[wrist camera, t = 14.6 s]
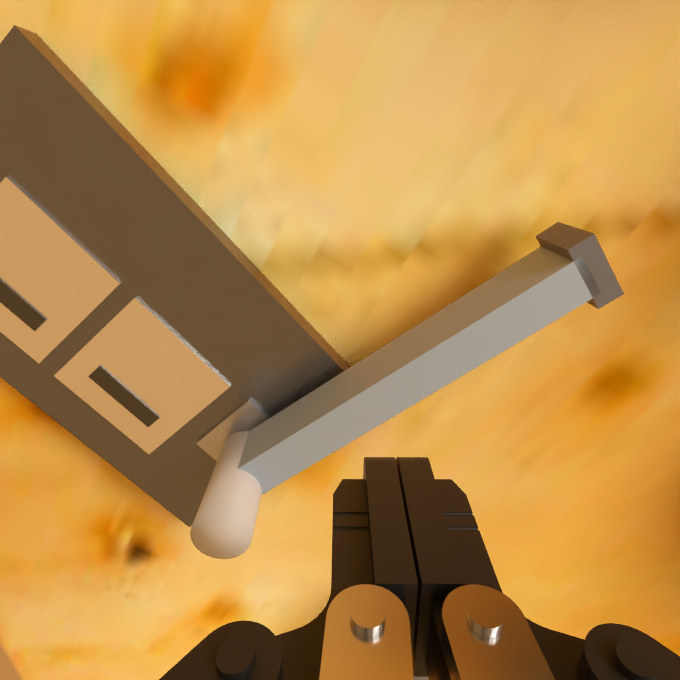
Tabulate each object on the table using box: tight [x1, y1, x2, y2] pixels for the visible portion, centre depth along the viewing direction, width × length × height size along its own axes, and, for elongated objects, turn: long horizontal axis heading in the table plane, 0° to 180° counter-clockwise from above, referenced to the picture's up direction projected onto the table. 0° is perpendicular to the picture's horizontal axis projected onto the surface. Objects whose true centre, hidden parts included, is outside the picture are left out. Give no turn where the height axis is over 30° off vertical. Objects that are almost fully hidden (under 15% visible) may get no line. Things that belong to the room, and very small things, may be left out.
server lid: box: [0, 25, 350, 527], centre depth 26 cm, size 24×15×2 cm, turn 41°
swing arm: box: [190, 222, 624, 559], centre depth 23 cm, size 22×3×7 cm, turn 125°
